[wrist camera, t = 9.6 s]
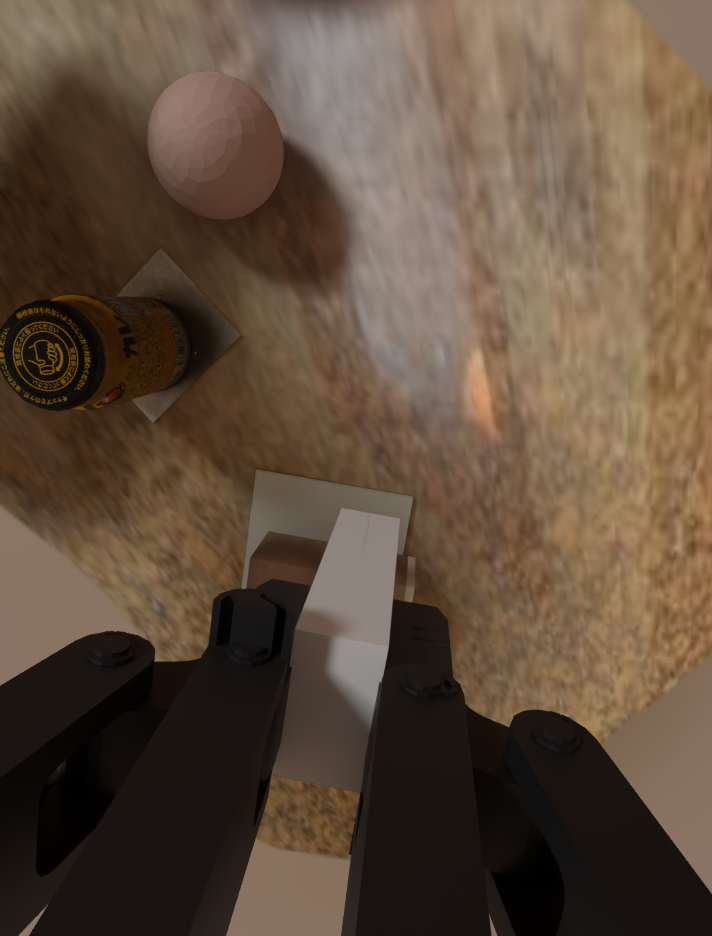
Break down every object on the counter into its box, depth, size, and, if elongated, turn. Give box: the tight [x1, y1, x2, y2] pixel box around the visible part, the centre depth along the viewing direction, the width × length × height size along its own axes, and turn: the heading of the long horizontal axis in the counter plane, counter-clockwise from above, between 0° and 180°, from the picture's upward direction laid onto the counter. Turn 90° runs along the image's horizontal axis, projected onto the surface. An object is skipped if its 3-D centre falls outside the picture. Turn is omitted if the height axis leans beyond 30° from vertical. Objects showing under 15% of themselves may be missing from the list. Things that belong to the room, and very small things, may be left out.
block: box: [246, 531, 416, 602], centre depth 42 cm, size 5×5×10 cm
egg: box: [147, 71, 284, 220], centre depth 36 cm, size 7×7×8 cm
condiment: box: [0, 248, 241, 423], centre depth 37 cm, size 7×8×12 cm
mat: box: [242, 469, 413, 589], centre depth 45 cm, size 10×13×1 cm
